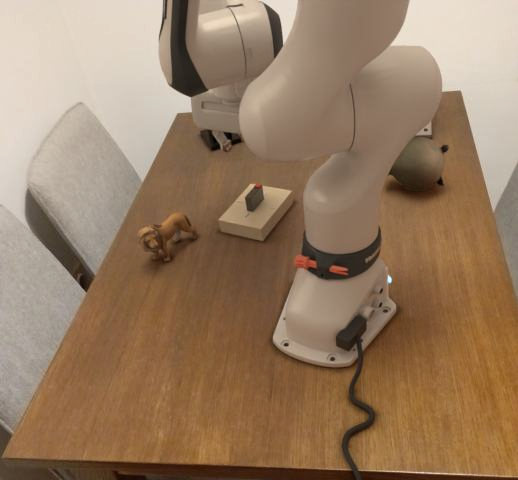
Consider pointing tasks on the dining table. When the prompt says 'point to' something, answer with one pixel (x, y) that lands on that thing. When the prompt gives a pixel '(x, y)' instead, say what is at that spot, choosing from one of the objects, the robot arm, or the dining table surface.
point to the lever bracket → (213, 142)
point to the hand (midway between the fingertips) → (247, 153)
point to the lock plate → (256, 213)
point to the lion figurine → (164, 234)
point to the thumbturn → (254, 197)
